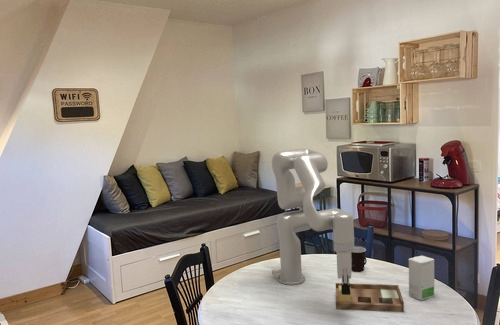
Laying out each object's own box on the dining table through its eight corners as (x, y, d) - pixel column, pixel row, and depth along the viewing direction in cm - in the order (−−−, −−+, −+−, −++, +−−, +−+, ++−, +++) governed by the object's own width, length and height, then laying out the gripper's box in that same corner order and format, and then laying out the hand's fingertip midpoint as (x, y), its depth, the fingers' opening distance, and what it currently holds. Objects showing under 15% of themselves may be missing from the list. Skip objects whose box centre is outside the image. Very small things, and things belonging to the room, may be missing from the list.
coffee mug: (347, 266, 207) (346, 246, 205) (365, 266, 205) (364, 246, 204) (349, 275, 195) (348, 254, 194) (368, 275, 194) (368, 254, 193)
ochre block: (339, 301, 165) (338, 290, 164) (338, 296, 169) (338, 285, 168) (350, 301, 164) (350, 290, 163) (350, 296, 168) (350, 285, 168)
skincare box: (420, 301, 166) (420, 263, 164) (407, 295, 172) (407, 258, 170) (435, 296, 170) (435, 258, 168) (421, 290, 176) (421, 254, 174)
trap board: (335, 309, 163) (335, 298, 163) (335, 292, 178) (335, 283, 178) (403, 312, 158) (403, 301, 158) (398, 294, 173) (397, 285, 172)
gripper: (333, 240, 164) (335, 285, 166) (333, 252, 150) (335, 302, 151) (353, 240, 163) (355, 286, 164) (355, 252, 148) (357, 302, 150)
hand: (346, 293), depth 158 cm, fingers closed
